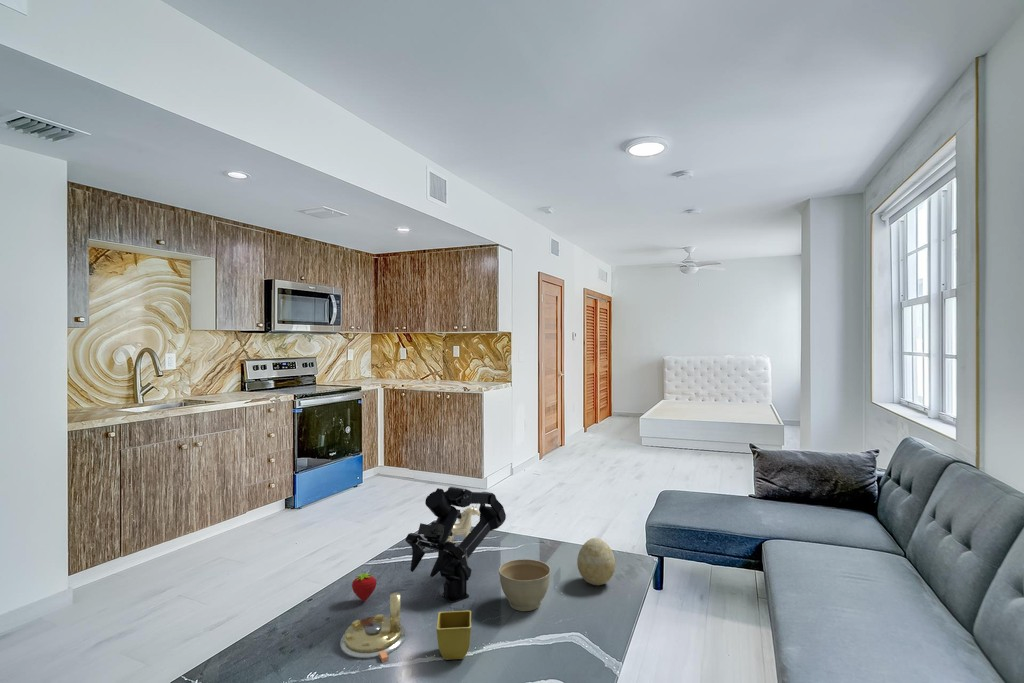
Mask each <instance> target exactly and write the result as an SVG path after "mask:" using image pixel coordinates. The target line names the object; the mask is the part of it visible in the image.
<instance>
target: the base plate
mask: <svg viewBox="0 0 1024 683" xmlns="http://www.w3.org/2000/svg"><path fill="white" fill-rule="evenodd" d="M381 630H382V625H381V624H380V623H370V624H368V625H367V626H366V627H365V633H366V634H377V633H379V632H380V631H381ZM405 639H406V631H405V629H404V627H403V625H401V637H400V639H399V640H398V641H397V642H396V643H395V644H394V645H392V646H391V647H389V648H387V649H384V650H382V651H386V653H387V655H388V654H391V653H393V652H394V651H396V650H398V649H399V648H400V647H401V646H402V645H403V643H404V641H405ZM339 644H340V645H339V646H340V650H341V652H342V653H343V654H344V655H345V656H347V657H350V658H353V659H358V660H369V659H370V660H371V659H376V658H379V652H382V651H378V652H373V653H358V652H354V651H351V650H349V649H348V648H347V647H346V646H345V643H344V634H343V635H342V636H341V639H340V642H339Z"/></svg>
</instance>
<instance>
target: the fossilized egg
mask: <svg viewBox="0 0 1024 683" xmlns="http://www.w3.org/2000/svg"><path fill="white" fill-rule="evenodd" d="M576 559H577V564H576V565H577V569H578V572H579V574H580V576H581V577H582V579H583V580H584V581H586V583H589V584H590V585H593V586H602V585H605V584H606V583H608V582H609V581H610V580H611V579H612V577H613V576H614V574H615V570H616V560H615V556H614V551H612V548H611V547H610V545H608V544H607V542H606V541H604V540H603V539H600V538H598V537H593V538H590V539H589V540H586V541H585V542H584V543H583V545H582V546H581V547H580V549H579V551H578V555H577V558H576Z"/></svg>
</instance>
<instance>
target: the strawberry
mask: <svg viewBox="0 0 1024 683" xmlns="http://www.w3.org/2000/svg"><path fill="white" fill-rule="evenodd" d="M355 577H356V578H355V579H354V580H353V581H352V582H351V589H352V591H353V594H355V595H356V597H357V598H358V599H359V600H361V601H362V602H367V600H368V599H369V597H370V596H371V595H372V594H373V593H374V591H375V590H376V587H377V584H378V583H377V579H376V578H375V577H374V576H373V574H370V573H369V572H368V573H364V571H362V572H361V574H359V575H355Z"/></svg>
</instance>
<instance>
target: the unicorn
mask: <svg viewBox="0 0 1024 683" xmlns="http://www.w3.org/2000/svg"><path fill="white" fill-rule="evenodd" d="M477 505H478V504H476V505H475V507H474V505H472V507H467V508H465V509H462V512H460V513H461V516H462V518H461V519H458V518H457V522H458V523H455V524H454V527H453V529H452V531H451V532H452V533H453V535H452V536H449V538H448V540H447V541H449V542H453V543H457V542H456V541H453V540H454V535H456V536H460V535H464V539H465V538H466V536H467V535H468V534H469V533H470V532H471V529H472V516H476V515H477V516H479V517H480V512H479V510H477Z"/></svg>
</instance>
